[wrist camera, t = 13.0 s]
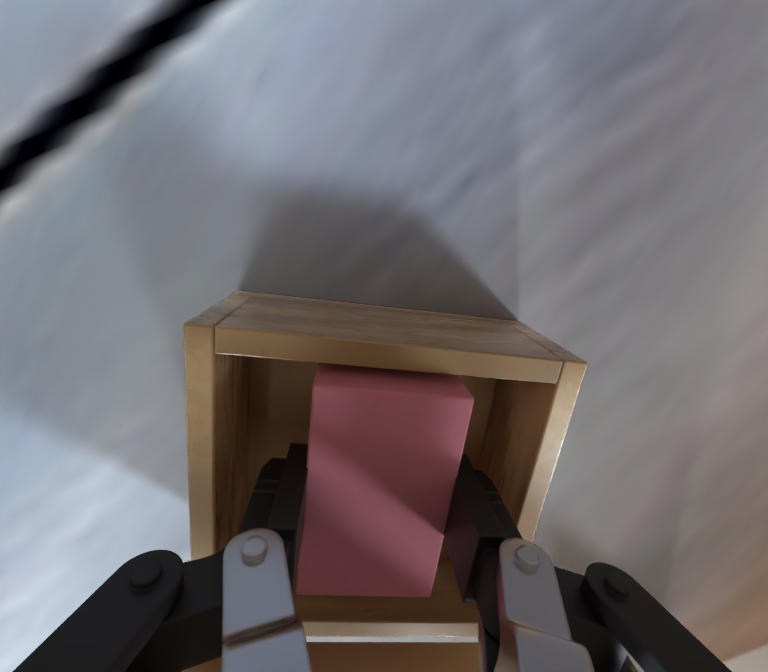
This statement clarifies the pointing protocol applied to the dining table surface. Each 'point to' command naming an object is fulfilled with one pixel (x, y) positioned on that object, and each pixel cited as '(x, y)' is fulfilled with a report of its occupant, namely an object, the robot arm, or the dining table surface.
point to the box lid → (382, 657)
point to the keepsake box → (293, 411)
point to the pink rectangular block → (379, 479)
